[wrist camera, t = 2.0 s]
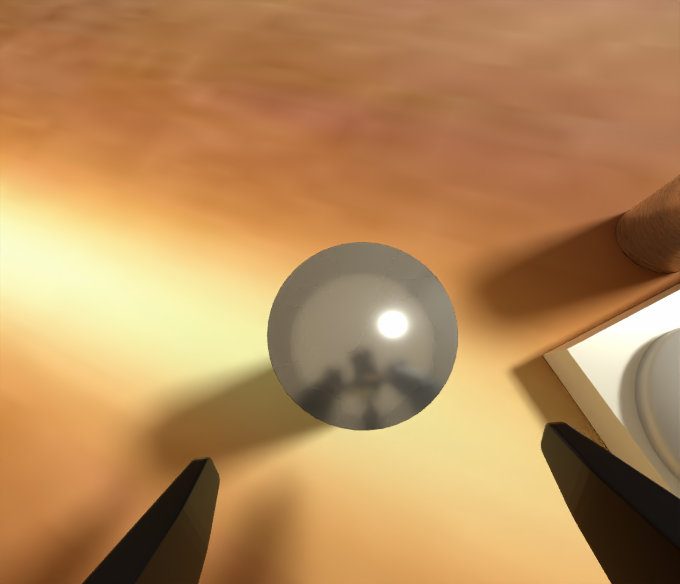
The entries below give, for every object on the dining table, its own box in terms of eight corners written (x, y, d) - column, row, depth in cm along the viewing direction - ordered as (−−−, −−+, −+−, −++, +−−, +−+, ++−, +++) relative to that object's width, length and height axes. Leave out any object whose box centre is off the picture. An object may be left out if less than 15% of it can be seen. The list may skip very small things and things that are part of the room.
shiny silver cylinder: (344, 424, 18) (312, 469, 7) (311, 350, 20) (241, 288, 9) (416, 387, 19) (498, 372, 7) (379, 317, 20) (397, 215, 9)
